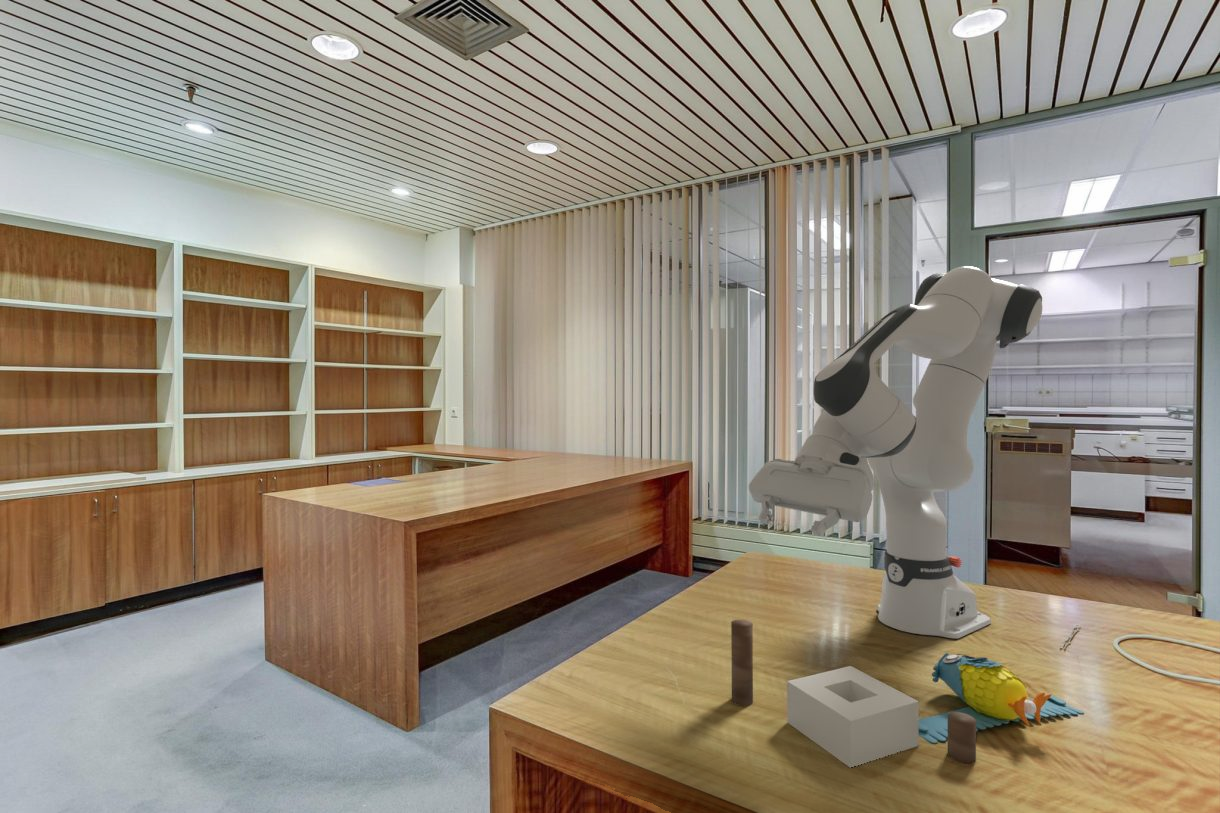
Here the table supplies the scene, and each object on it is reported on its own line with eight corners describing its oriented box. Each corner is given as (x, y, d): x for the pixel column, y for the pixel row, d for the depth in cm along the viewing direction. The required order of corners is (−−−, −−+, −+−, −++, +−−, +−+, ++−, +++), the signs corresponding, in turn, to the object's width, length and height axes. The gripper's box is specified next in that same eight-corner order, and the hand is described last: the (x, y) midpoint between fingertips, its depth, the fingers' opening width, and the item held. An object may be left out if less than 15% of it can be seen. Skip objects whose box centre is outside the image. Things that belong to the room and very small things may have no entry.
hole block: (850, 705, 94) (850, 665, 94) (918, 745, 83) (918, 701, 83) (787, 722, 89) (787, 681, 89) (850, 768, 78) (850, 720, 78)
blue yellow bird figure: (952, 694, 80) (871, 651, 94) (953, 762, 80) (872, 708, 94) (1110, 667, 88) (1013, 630, 102) (1111, 728, 88) (1014, 683, 102)
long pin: (744, 694, 97) (744, 618, 97) (757, 703, 94) (756, 625, 94) (727, 698, 96) (727, 621, 96) (739, 707, 93) (739, 628, 93)
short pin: (958, 747, 82) (958, 710, 82) (981, 760, 79) (981, 721, 79) (941, 753, 81) (942, 715, 81) (964, 766, 78) (964, 727, 78)
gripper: (763, 446, 113) (728, 503, 106) (876, 460, 98) (844, 527, 92) (774, 469, 116) (741, 526, 109) (885, 486, 102) (854, 553, 95)
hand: (789, 527), depth 100 cm, fingers open, 8 cm apart
